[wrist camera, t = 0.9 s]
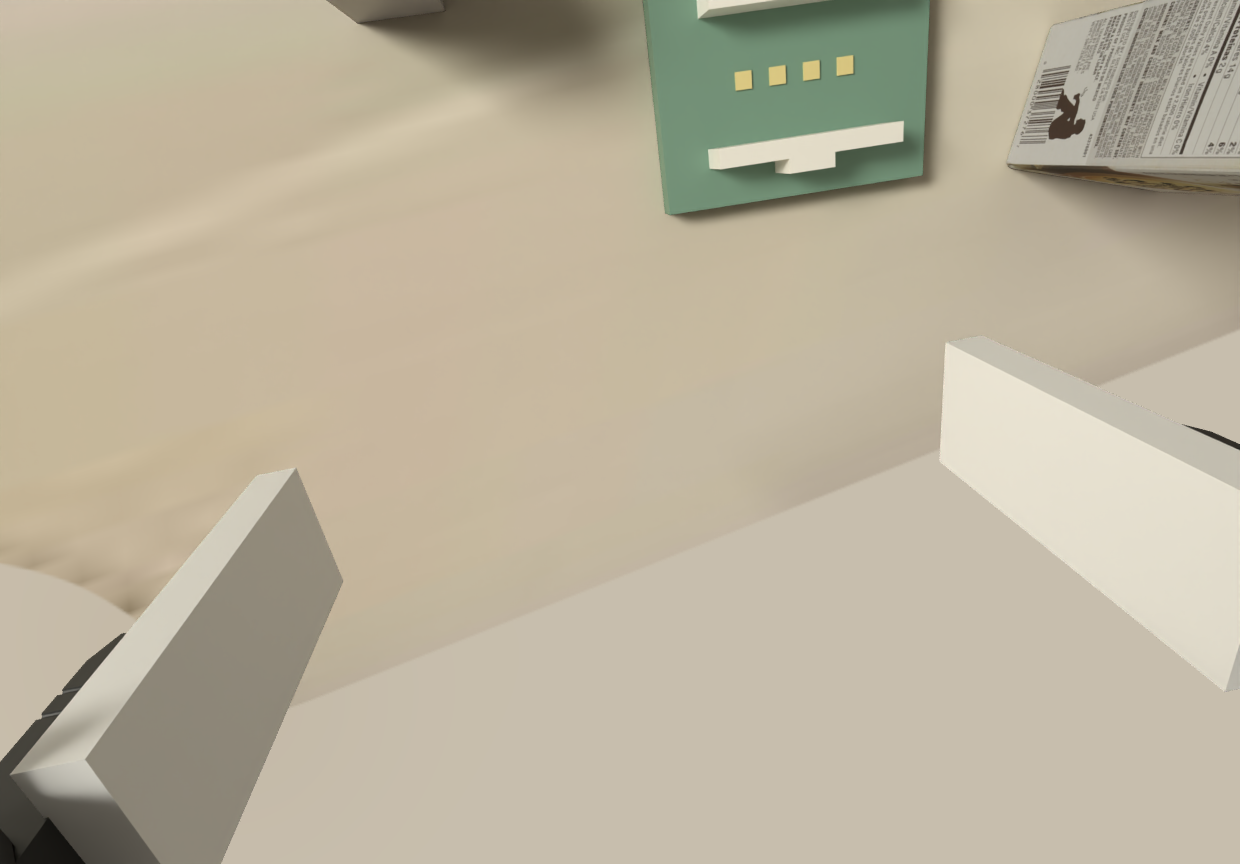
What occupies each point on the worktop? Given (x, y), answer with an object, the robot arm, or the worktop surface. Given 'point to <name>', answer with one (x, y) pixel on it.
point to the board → (785, 96)
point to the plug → (386, 8)
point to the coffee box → (1139, 99)
